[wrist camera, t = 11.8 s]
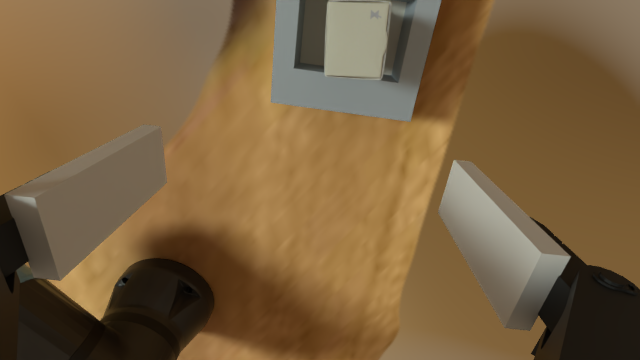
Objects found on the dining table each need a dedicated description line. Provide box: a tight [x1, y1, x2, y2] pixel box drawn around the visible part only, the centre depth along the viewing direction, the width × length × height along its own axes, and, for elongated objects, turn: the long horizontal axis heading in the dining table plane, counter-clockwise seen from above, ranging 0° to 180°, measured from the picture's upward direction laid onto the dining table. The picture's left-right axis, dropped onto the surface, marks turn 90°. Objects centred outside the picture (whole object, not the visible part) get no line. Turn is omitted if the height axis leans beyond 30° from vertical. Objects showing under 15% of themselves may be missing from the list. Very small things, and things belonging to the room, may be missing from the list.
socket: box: [271, 0, 441, 122], centre depth 31 cm, size 14×14×6 cm
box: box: [324, 0, 392, 80], centre depth 27 cm, size 5×4×13 cm
